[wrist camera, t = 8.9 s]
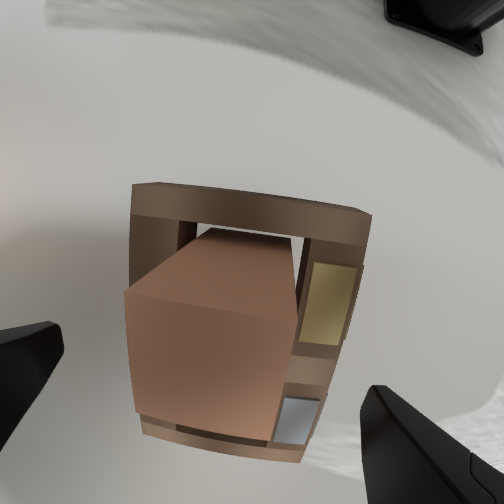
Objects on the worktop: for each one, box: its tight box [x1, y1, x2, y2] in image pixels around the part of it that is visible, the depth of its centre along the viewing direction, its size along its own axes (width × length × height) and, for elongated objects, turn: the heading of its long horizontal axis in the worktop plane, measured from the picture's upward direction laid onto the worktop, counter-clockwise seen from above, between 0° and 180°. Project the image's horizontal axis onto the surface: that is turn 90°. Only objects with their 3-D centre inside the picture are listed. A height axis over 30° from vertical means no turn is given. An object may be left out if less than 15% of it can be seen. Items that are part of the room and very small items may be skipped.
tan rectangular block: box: [124, 228, 298, 441], centre depth 11 cm, size 4×4×9 cm
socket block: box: [129, 182, 372, 463], centre depth 15 cm, size 10×15×3 cm
